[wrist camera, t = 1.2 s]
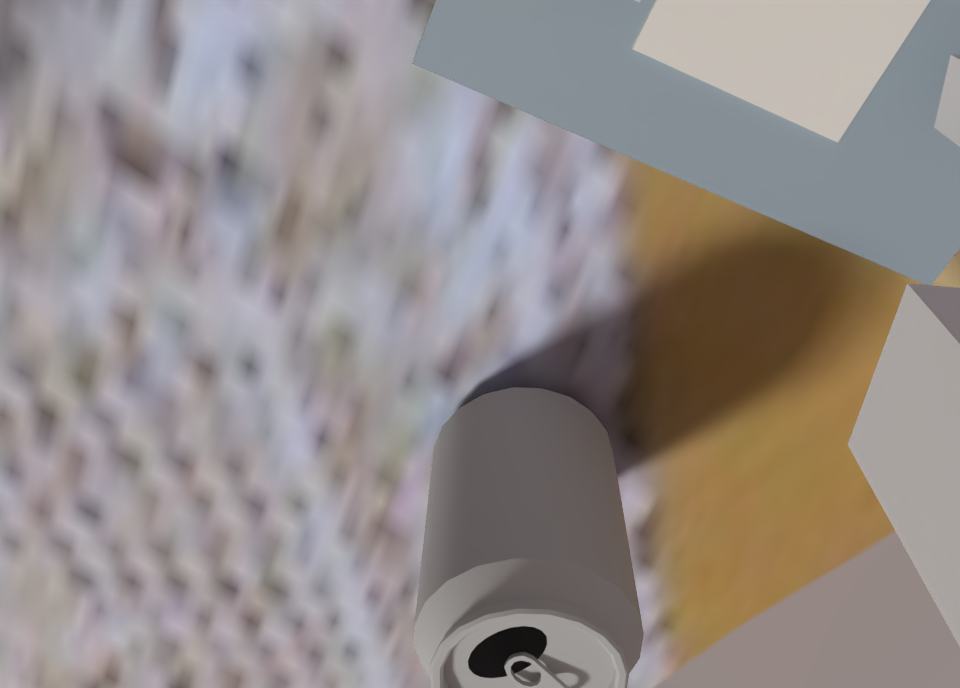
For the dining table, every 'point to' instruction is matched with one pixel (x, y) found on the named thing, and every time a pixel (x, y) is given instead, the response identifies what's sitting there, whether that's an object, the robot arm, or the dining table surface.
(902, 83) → the rig
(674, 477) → the dining table surface
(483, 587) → the can
